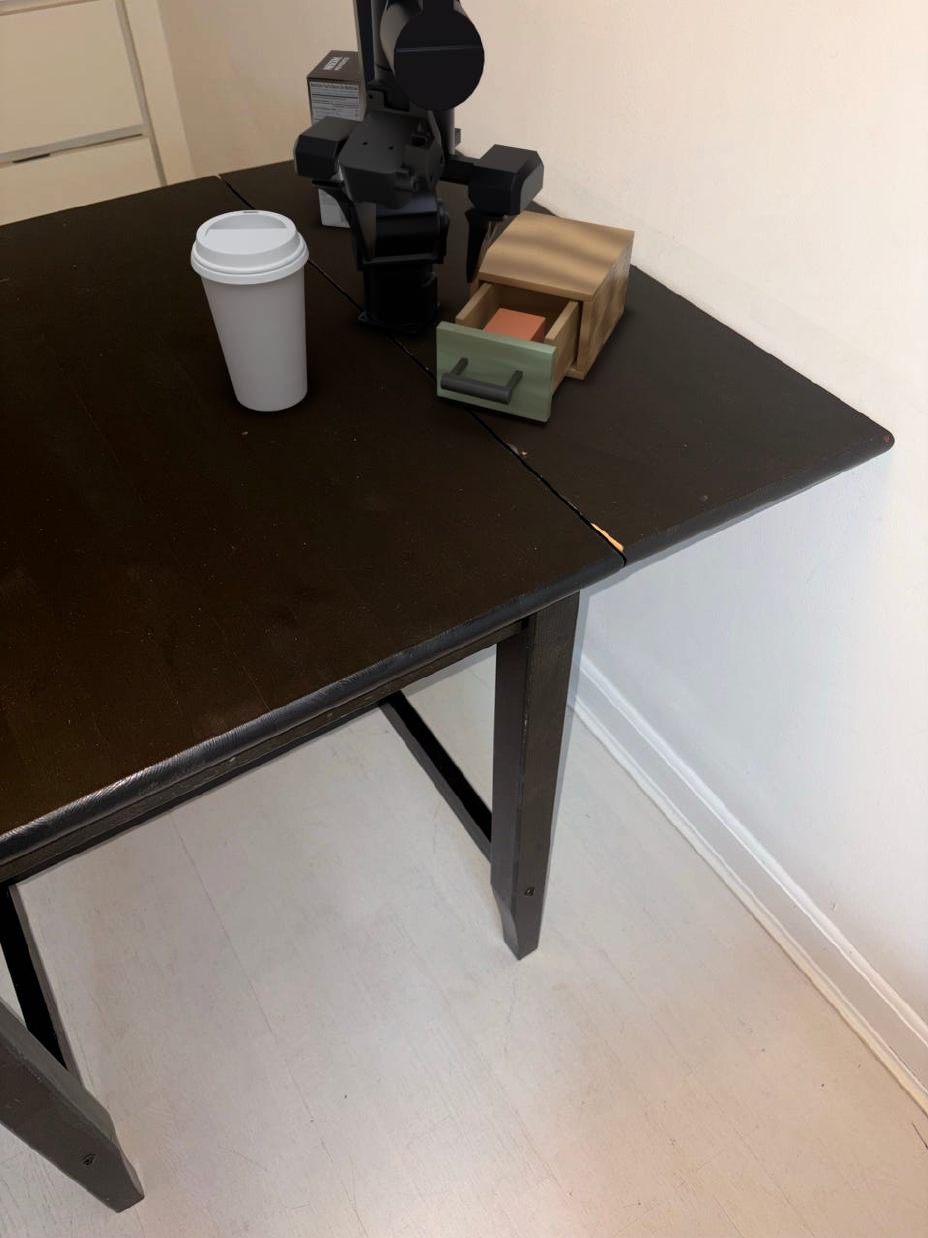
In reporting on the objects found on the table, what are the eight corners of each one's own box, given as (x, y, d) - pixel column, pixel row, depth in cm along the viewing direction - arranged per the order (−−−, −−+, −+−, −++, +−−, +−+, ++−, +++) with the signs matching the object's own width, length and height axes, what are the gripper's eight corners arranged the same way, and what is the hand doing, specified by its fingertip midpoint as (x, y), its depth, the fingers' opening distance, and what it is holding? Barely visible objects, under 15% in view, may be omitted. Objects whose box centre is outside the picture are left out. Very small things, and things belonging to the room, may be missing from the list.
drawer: (529, 450, 80) (534, 380, 75) (417, 421, 83) (415, 352, 78) (589, 352, 91) (596, 285, 86) (487, 329, 94) (490, 263, 89)
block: (480, 374, 86) (481, 330, 83) (497, 350, 89) (499, 307, 86) (526, 385, 85) (529, 341, 82) (542, 360, 88) (545, 317, 85)
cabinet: (583, 380, 89) (593, 294, 83) (468, 353, 92) (470, 269, 86) (623, 312, 98) (634, 230, 92) (517, 290, 101) (522, 209, 95)
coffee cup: (340, 374, 90) (325, 215, 79) (295, 430, 83) (272, 267, 72) (249, 355, 92) (222, 198, 81) (199, 408, 85) (162, 247, 75)
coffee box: (342, 193, 117) (330, 47, 105) (393, 198, 116) (386, 51, 105) (320, 226, 111) (304, 74, 99) (373, 231, 110) (364, 79, 98)
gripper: (239, 77, 65) (271, 292, 76) (496, 118, 60) (488, 341, 71) (318, 31, 72) (337, 234, 83) (553, 65, 67) (538, 275, 78)
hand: (419, 270), depth 79 cm, fingers open, 9 cm apart
